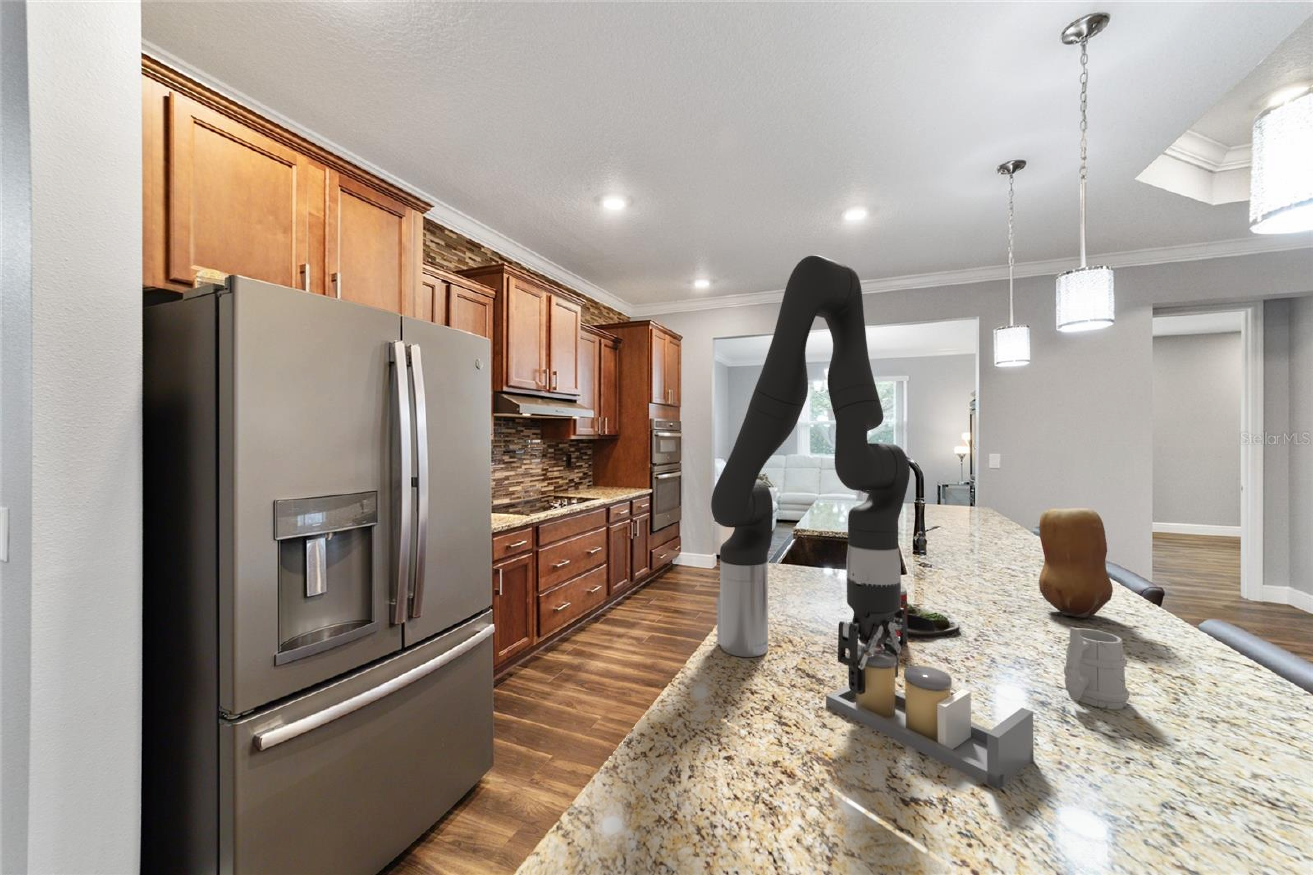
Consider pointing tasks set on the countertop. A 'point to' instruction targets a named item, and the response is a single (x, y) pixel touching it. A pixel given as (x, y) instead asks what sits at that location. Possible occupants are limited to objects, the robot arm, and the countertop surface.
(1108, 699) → the mug
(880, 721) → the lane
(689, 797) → the countertop surface
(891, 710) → the jar
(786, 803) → the countertop surface
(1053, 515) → the butternut squash
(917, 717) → the jar
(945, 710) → the plate
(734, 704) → the countertop surface
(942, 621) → the salad plate
